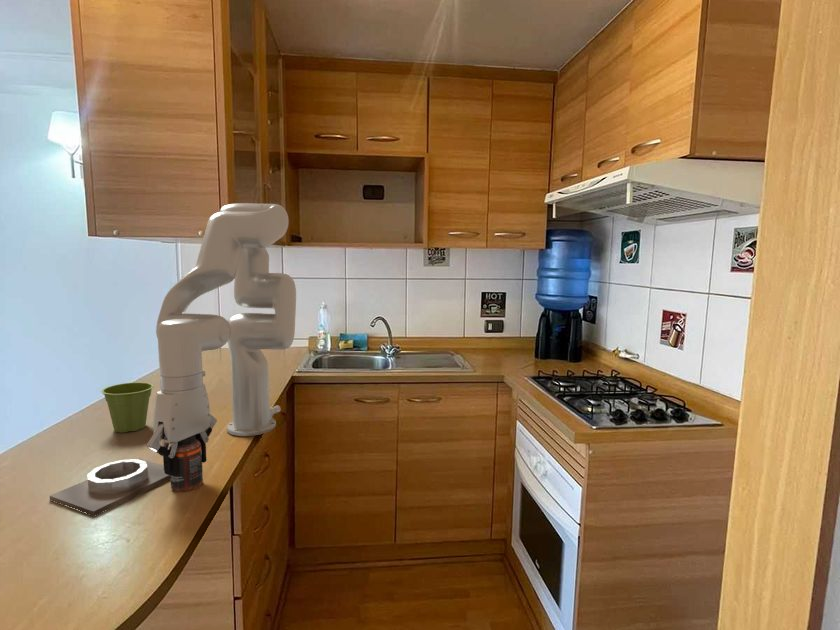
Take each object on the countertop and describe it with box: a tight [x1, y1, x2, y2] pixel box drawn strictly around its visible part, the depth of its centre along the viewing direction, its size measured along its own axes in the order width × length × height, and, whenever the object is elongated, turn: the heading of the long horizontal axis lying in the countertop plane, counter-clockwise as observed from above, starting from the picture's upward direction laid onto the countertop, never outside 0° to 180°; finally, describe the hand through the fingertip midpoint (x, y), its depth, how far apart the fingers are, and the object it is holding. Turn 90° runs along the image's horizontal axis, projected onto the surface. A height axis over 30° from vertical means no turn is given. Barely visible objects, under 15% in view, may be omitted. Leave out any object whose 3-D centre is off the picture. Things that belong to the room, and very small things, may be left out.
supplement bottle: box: [168, 435, 204, 493], centre depth 94 cm, size 6×6×11 cm
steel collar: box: [86, 458, 148, 495], centre depth 94 cm, size 10×10×2 cm
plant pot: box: [100, 381, 155, 434], centre depth 124 cm, size 12×12×11 cm
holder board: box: [49, 458, 170, 517], centre depth 94 cm, size 18×13×1 cm
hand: (186, 466), depth 94 cm, fingers closed on supplement bottle, 6 cm apart
